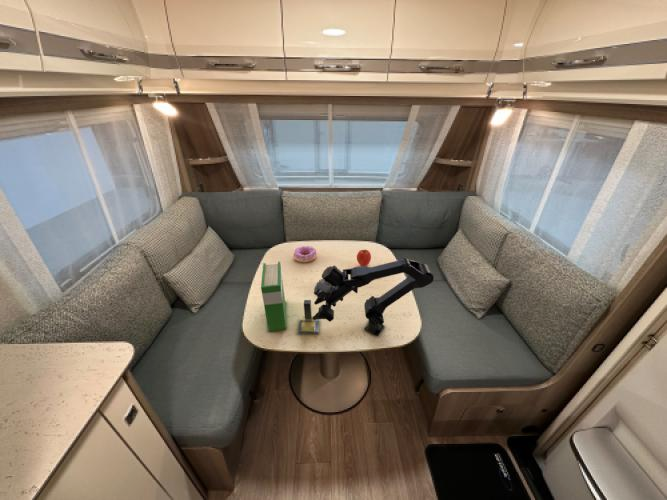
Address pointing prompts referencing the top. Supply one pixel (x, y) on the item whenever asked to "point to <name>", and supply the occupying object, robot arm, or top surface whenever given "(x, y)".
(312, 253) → the donut
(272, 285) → the hardback book
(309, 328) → the butter dish
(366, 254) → the apple
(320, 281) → the brown rectangular block
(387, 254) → the top surface
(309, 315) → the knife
